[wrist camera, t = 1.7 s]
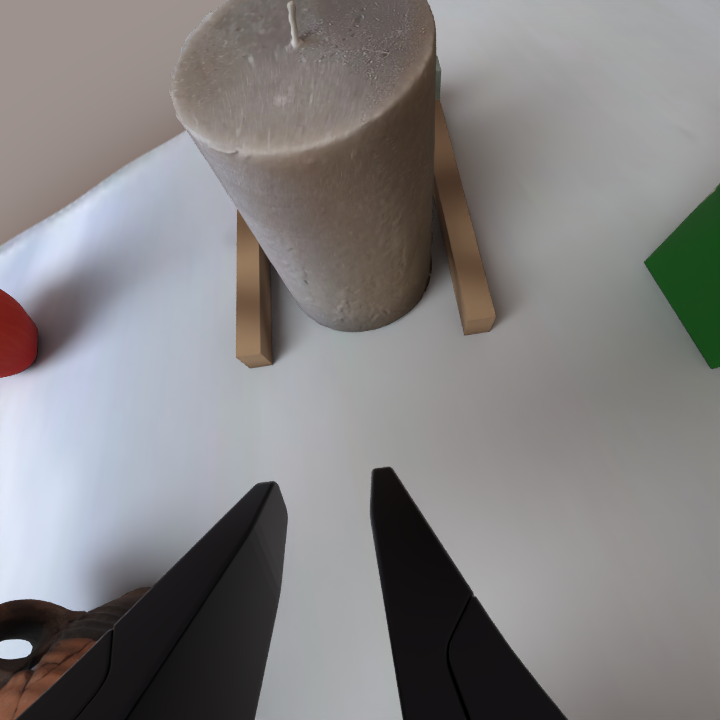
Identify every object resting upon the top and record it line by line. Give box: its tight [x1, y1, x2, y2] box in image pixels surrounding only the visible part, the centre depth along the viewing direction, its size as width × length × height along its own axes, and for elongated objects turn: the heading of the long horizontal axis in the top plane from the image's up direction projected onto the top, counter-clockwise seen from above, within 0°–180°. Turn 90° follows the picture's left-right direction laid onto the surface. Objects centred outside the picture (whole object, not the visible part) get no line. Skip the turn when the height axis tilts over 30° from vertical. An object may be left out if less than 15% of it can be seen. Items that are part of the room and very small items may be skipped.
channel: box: [236, 56, 496, 368], centre depth 25 cm, size 19×15×4 cm
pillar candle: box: [170, 0, 436, 332], centre depth 19 cm, size 10×10×15 cm
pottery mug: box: [0, 588, 151, 720], centre depth 17 cm, size 12×10×8 cm
